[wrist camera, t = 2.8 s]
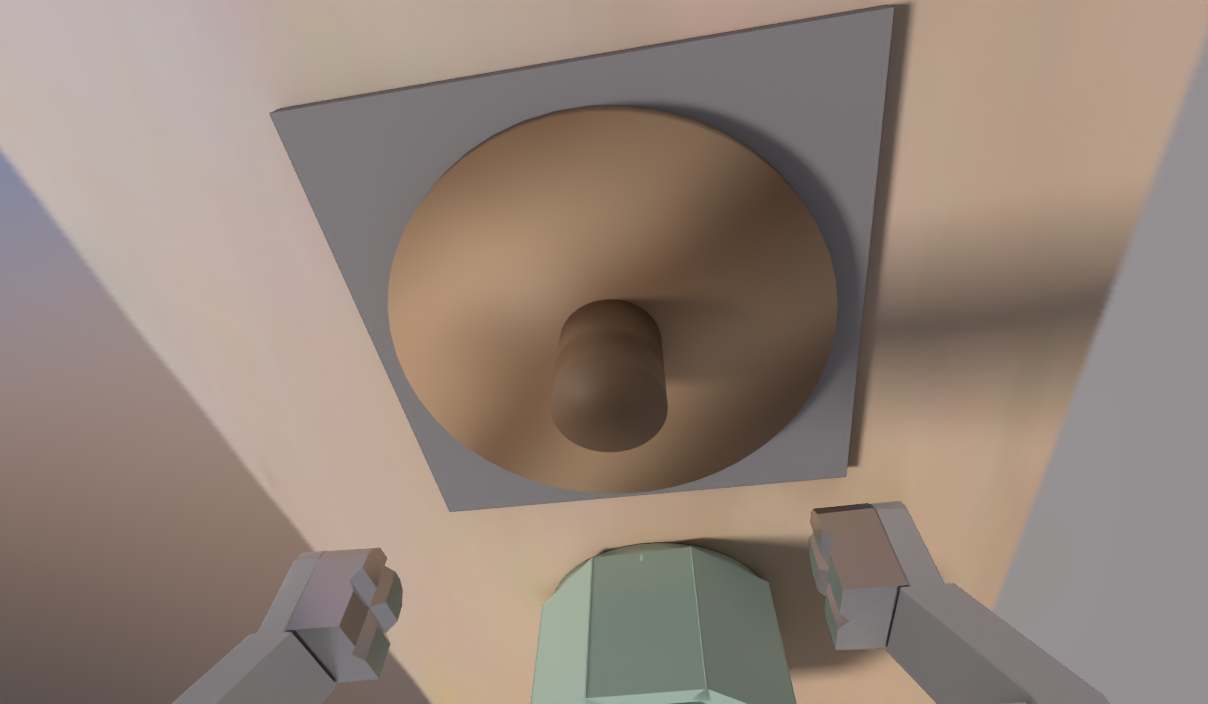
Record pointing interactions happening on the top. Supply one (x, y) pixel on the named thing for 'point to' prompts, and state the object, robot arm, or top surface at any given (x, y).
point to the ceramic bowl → (661, 632)
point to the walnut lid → (612, 300)
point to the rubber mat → (636, 78)
